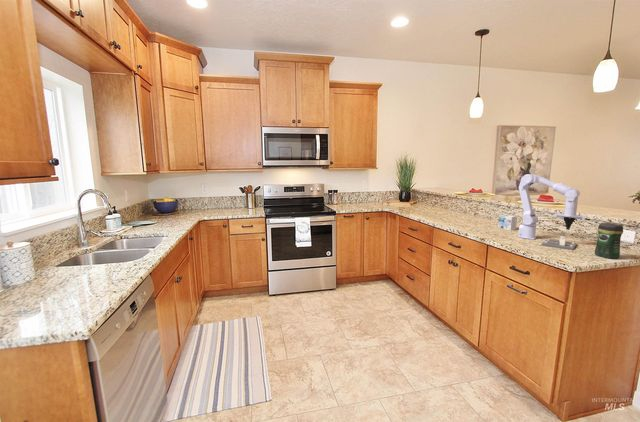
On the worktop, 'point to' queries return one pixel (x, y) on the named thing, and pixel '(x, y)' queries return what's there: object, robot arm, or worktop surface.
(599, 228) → the coffee jar
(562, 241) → the fader cap cream
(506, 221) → the light bulb box
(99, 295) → the worktop surface
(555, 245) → the fader console
